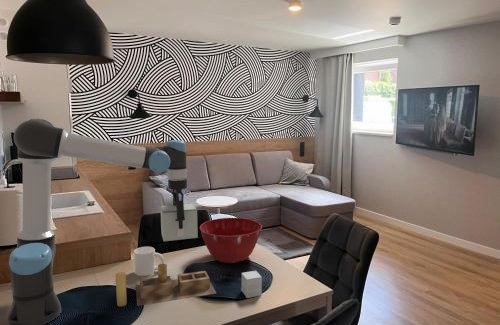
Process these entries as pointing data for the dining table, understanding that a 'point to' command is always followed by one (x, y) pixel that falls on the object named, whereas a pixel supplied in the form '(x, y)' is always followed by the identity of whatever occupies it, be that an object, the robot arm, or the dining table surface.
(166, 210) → the tray
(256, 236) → the mixing bowl
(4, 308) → the dining table surface
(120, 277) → the pin
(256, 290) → the skincare box
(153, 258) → the mug
